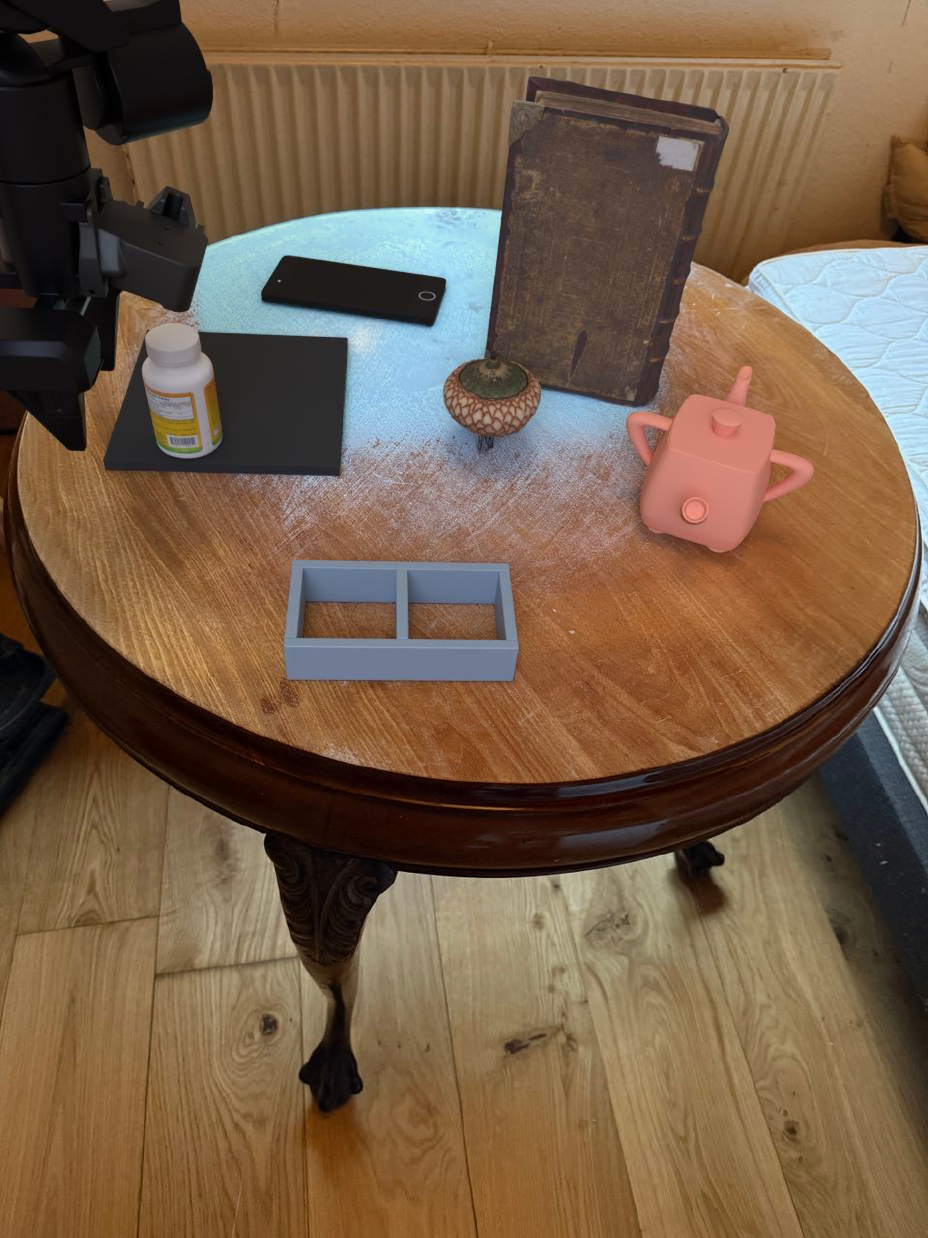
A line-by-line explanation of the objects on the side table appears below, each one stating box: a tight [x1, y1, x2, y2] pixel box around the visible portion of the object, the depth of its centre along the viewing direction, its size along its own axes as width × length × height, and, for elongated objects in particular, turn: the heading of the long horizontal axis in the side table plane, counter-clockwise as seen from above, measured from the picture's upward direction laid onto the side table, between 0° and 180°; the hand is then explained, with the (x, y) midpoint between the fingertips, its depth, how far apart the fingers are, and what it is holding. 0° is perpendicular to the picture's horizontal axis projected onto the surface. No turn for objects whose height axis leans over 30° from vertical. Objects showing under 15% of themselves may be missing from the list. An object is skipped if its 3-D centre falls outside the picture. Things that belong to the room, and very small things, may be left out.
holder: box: [283, 559, 520, 682], centre depth 64 cm, size 15×8×4 cm, turn 93°
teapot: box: [625, 365, 815, 554], centre depth 73 cm, size 14×12×10 cm
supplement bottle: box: [142, 322, 222, 458], centre depth 74 cm, size 5×5×10 cm
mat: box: [102, 329, 349, 477], centre depth 83 cm, size 19×20×1 cm
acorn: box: [442, 350, 542, 454], centre depth 77 cm, size 8×8×10 cm
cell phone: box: [260, 254, 447, 327], centre depth 97 cm, size 9×18×1 cm, turn 81°
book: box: [483, 74, 730, 408], centre depth 80 cm, size 17×7×25 cm, turn 71°
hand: (93, 407), depth 61 cm, fingers open, 9 cm apart
